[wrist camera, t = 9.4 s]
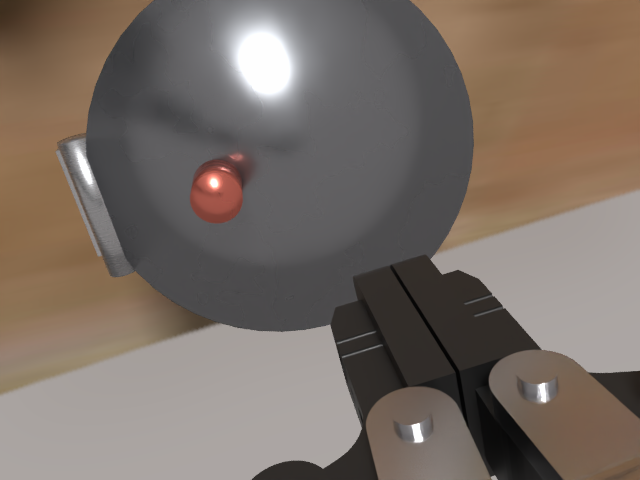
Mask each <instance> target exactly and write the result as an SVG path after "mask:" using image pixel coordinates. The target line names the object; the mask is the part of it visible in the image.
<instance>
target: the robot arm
mask: <svg viewBox="0 0 640 480" xmlns="http://www.w3.org/2000/svg"><path fill="white" fill-rule="evenodd" d="M353 282H354V287H355V291H356V295H357V299H358V301H355V302H351V303H348V304H345V305H341V306H338V307H335V311H334V314H333V318H332V321H331V324H330V325H331V329H332V332H333V336H334V340H335V343H336V346H337V350H338V354H339V358H340V361H341V365H342V369H343V372H344V376H345V379H346V383H347V386H348V389H349V392H350V395H351V398H352V401H353V403H354V406H355V409H356V412H357V415H358V418H359V420H360V423H361V427H362V430H361V433H360V435H359V437H358V439H357V441H356V442H355V444H354V445H353V446H352V448H351V449H350V450H349V451H348V452H347V453H345V454H344V455H343V456H342V457H340V458H339V459H338V460H336V461H335V462H333V463H332V464H330V465H329V466H327V467H326V468H324V469H322V468H321V467H319V466H317V465H316V464H313V463H310V462H306V461H288V462H282V463H279V464H276V465H273V466H271V467H269V468H267V469H265V470H263V471H262V472H260V473H259V474H258V475H256V476H255V477H254V478H253V479H252V480H492V479H491V476H494V475H495V476H496V477H497V479H498V480H640V371H631V372H618V373H617V372H616V373H589V372H587V371H586V370H584V369H583V368H582V367H581V366H580V365H579V364H578V363H577V362H575V361H574V360H573V359H571V358H569V357H567V356H565V355H562V354H559V353H556V352H552V351H546V350H541V349H540V347H539V346H538V345H537V344H536V343H535V342H534V341H533V339H532V338H531V337H530V336H529V335H528V334H527V333H526V331H524V329H523V328H522V327H521V326H520V325H519V324H518V322H517V321H516V320H515V319H514V318H513V317H512V316H511V315H510V313H509V312H508V311H507V310H506V309H503V306H502V304H501V303H500V302H499V301H498V300H497V299H496V298H495V297H493V296H492V293H491V292H490V291H489V290H488V289H487V288H486V286H485V285H484V284H483V283H482V282H481V281H480V280H479V279H478V278H475V277H473V276H470V275H469V274H466V273H464V272H462V271H459V270H456V271H453V272H450V273H447V274H443V275H442V274H441V273H440V272H439V270H438V269H437V268H436V266H435V265H434V264H433V263H432V261H431V260H430V259H429V257H428V256H427V255H425V254H424V255H421V256H417V257H414V258H411V259H407V260H404V261H401V262H397V263H394V264H391V265H390V267H389V266H384V267H381V268H378V269H374V270H371V271H368V272H364V273H361V274H358V275H354V276H353Z"/></svg>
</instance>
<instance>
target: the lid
mask: <svg viewBox="0 0 640 480" xmlns="http://www.w3.org/2000/svg"><path fill="white" fill-rule="evenodd" d="M57 145H58V148H59V150H60V153H61V155H62V158H63V160H64V163H65V165H66V168H67V170H68V173H69V175H70V178H71V180H72V183H73V185H74V188H75V190H76V193H77V195H78V198H79V200H80V203H81V205H82V208H83V210H84V212H85V215H86V217H87V220H88V222H89V225H90V227H91V230H92V232H93V235H94V237H95V240H96V242H97V245H98V247H99V250H100V252H101V255H102V257H103V260H104V262H105V265H106V267H107V270H108V272H109V275H110V276H112V277H121V276H125V275H128V274H130V273H132V272H134V271H136V272H137V273H138V274H139V275H140V276H141V277H143V278H144V279H145V280H146V281H147V282H148V283H149V284H150V285H151V286H152V287H153V288H155V289H156V290H157V291H159V292H160V293H162V294H163V295H164V296H166V297H167V298H169V299H170V300H171V301H173V302H174V303H176V304H178V305H180V306H182V307H183V308H185V309H187V310H189V311H191V312H193V313H195V314H197V315H200V316H202V317H205V318H207V319H210V320H212V321H215V322H218V323H222V324H226V325H230V326H233V327H237V328H244V329H251V330H257V331H281V332H283V331H295V330H306V329H311V328H316V327H321V326H326V325H329V324H331V321H332V318H333V314H334V311H335V307H338V306H341V305H345V304H348V303H351V302H355V301H358V299H357V295H356V291H355V287H354V282H353V276H354V275H358V274H361V273H364V272H368V271H371V270H374V269H378V268H381V267H384V266H389V267H390V265H391V264H394V263H397V262H401V261H404V260H407V259H411V258H414V257H417V256H421V255H424V254H425V255H427V256H428V257H429V259H431V258H432V257H433V255H434V254H435V253H436V252H437V250H438V249H439V247H440V246H441V244H442V243H443V241H444V240H445V238H446V237H447V235H448V233H449V231H450V229H451V227H452V225H453V223H454V221H455V219H456V217H457V215H458V213H459V211H460V208H461V205H462V202H463V200H464V197H465V194H466V191H467V186H468V182H469V178H470V173H471V168H472V158H473V147H474V140H473V119H472V113H471V107H470V101H469V96H468V93H467V90H466V87H465V83H464V80H463V77H462V74H461V71H460V69H459V67H458V65H457V63H456V61H455V59H454V56H453V54H452V52H451V50H450V49H449V47H448V46H447V44H446V42H445V41H444V39H443V38H442V36H441V35H440V33H439V32H438V30H437V29H436V28H435V26H434V25H433V24H432V23H431V22H430V21H429V19H428V18H427V17H426V16H425V15H424V14H423V13H422V11H421V10H420V9H419V8H418V7H417V6H415V5H414V4H413V3H412V2H411V1H410V0H154V1H153V2H152V3H150V4H149V5H148V6H147V7H146V8H145V9H144V10H143V11H142V12H140V13H139V14H138V16H137V17H136V18H135V19H134V20H133V22H132V23H131V24H130V25H129V26H128V28H127V29H126V30H125V31H124V32H123V34H122V35H121V36H120V38H119V40H118V41H117V43H116V45H115V46H114V48H113V49H112V51H111V53H110V54H109V56H108V58H107V59H106V62H105V64H104V66H103V69H102V71H101V73H100V76H99V78H98V81H97V83H96V86H95V89H94V93H93V97H92V101H91V105H90V108H89V114H88V123H87V132H86V133H83V134H78V135H74V136H71V137H68V138H65V139H63V140H61V141H59V142H57Z"/></svg>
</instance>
